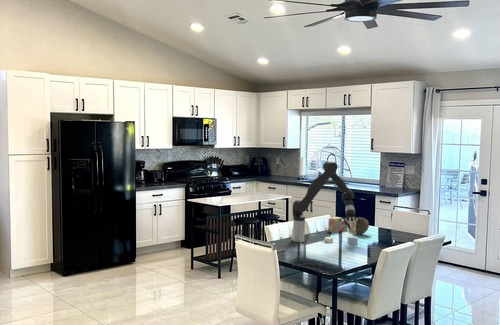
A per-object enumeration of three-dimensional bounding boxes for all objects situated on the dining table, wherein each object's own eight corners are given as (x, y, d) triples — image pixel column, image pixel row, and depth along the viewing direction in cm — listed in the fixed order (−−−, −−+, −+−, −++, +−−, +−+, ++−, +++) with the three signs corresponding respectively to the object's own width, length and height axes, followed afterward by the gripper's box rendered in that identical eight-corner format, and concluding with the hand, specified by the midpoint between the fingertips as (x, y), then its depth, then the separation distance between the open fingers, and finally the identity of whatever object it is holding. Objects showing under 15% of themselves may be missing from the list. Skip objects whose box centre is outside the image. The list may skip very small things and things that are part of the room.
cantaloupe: (360, 236, 413) (361, 219, 412) (348, 233, 424) (349, 216, 424) (371, 235, 420) (372, 218, 419) (359, 232, 432) (360, 215, 431)
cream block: (324, 241, 389) (324, 237, 389) (328, 241, 392) (328, 236, 392) (328, 242, 385) (328, 238, 385) (332, 242, 388) (333, 238, 388)
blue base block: (348, 244, 383) (348, 238, 383) (347, 242, 390) (347, 236, 390) (357, 244, 382) (357, 238, 382) (356, 242, 389) (356, 236, 389)
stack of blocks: (342, 228, 446) (342, 215, 445) (347, 229, 442) (348, 216, 441) (328, 231, 432) (328, 218, 431) (333, 232, 427) (334, 219, 426)
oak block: (349, 234, 384) (350, 221, 383) (348, 232, 388) (349, 220, 387) (355, 234, 384) (355, 221, 383) (354, 233, 388) (354, 220, 387)
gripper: (342, 208, 392) (344, 226, 381) (359, 209, 392) (362, 226, 381) (340, 214, 398) (343, 231, 386) (357, 214, 398) (360, 231, 386)
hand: (352, 228), depth 384 cm, fingers closed on oak block, 4 cm apart
